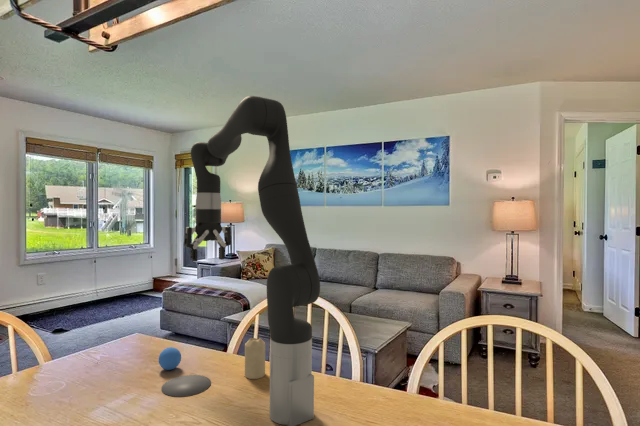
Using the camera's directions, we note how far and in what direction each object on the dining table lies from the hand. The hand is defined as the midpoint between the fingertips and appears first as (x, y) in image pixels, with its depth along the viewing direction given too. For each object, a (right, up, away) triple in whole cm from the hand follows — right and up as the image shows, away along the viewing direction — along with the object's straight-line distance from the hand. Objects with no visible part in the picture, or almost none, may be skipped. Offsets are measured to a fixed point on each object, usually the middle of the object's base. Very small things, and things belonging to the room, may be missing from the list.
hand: (208, 260), depth 122 cm
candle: (+17, -30, -14) cm, 37 cm away
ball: (-8, -26, -11) cm, 30 cm away
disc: (0, -30, -21) cm, 36 cm away
